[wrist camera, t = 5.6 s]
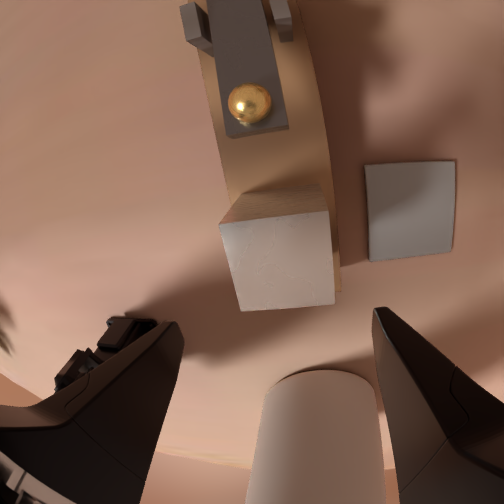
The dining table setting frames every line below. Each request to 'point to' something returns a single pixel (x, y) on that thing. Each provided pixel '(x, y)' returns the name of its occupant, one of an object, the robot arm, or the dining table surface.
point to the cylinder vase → (318, 442)
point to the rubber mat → (410, 208)
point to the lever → (246, 68)
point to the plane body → (297, 107)
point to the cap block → (280, 248)
